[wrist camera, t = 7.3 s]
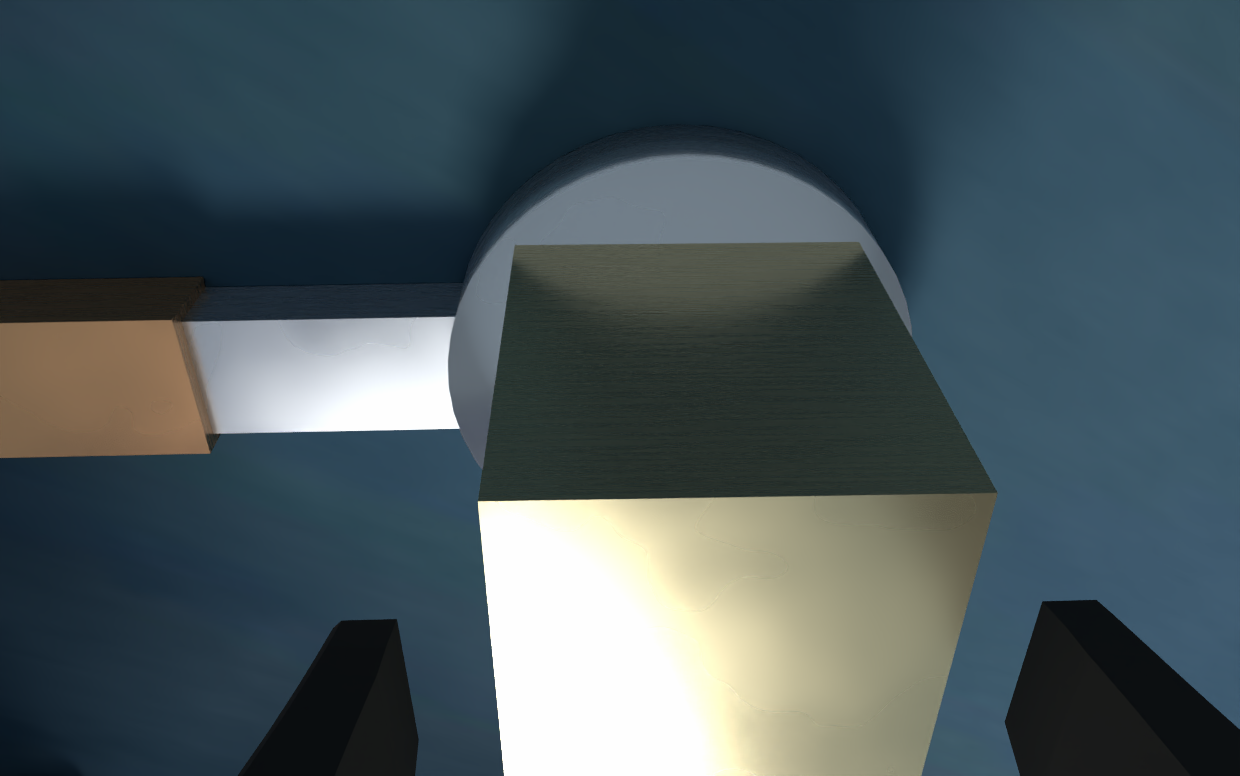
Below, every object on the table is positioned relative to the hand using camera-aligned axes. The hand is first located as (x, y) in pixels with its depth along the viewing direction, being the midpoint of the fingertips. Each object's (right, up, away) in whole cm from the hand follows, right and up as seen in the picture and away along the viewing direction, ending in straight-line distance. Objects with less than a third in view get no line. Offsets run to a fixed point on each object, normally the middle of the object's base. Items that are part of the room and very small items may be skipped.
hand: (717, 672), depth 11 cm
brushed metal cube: (0, +3, +5) cm, 6 cm away
